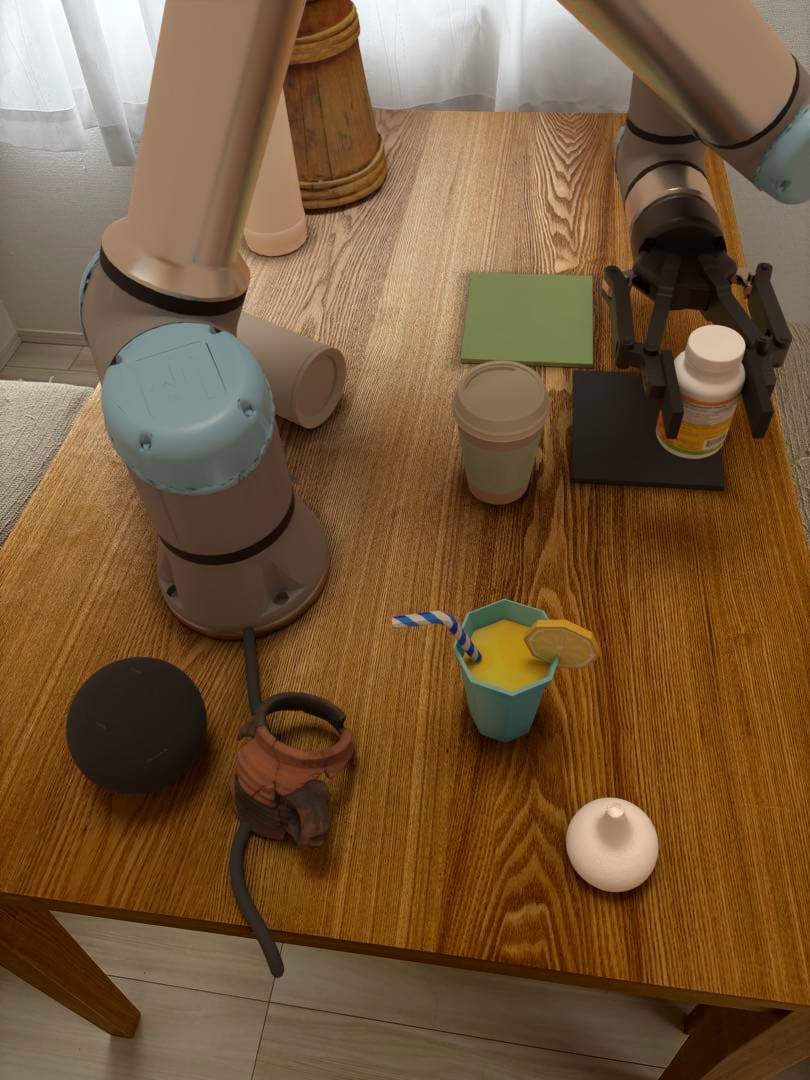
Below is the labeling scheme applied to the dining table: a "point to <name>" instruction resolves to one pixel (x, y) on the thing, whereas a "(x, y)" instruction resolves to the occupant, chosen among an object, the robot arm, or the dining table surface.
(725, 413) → the supplement bottle
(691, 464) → the charcoal mat
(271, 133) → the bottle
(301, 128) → the tankard
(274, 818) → the broken clay pot
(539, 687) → the cup
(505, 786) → the dining table surface
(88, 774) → the speaker
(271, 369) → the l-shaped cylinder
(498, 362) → the coffee cup
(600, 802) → the garlic bulb
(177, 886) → the dining table surface
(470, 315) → the sage mat
